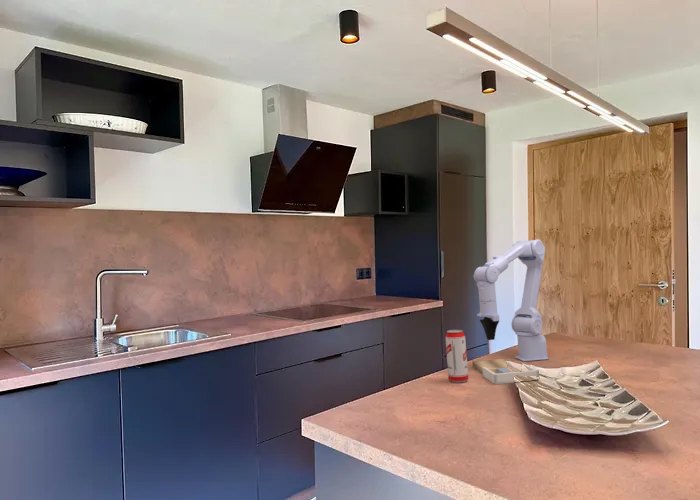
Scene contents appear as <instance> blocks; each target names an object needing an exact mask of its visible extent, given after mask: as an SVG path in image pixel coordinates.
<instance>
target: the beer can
mask: <svg viewBox="0 0 700 500" xmlns="http://www.w3.org/2000/svg"><path fill="white" fill-rule="evenodd" d="M466 343H467V342H466V336H465V333H464V330H463V329H449V330H447V331H446V335H445V349H446V351H445V352H446V361H447V363H446V364H447V374H448V375H447V376H448V380H449V381H450V382H451V381H452V383H454V382H456V383H455V384H462V383H466V382H467V381H468V380H469V371H468V370H469V369H468V367H469V366H468V357H467V354H468V353H467V346H466V345H467V344H466Z"/></svg>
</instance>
